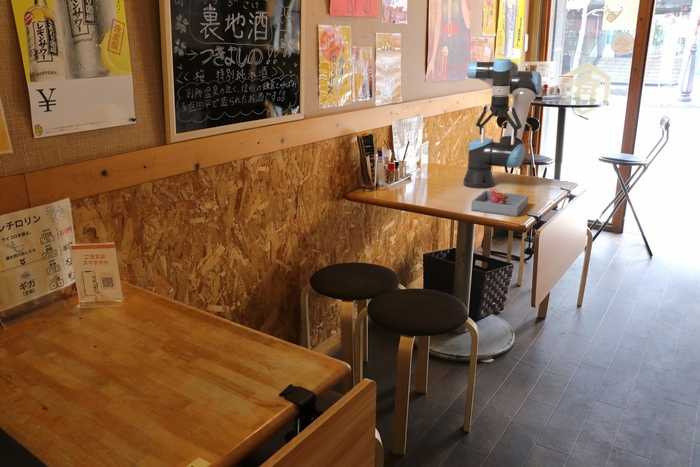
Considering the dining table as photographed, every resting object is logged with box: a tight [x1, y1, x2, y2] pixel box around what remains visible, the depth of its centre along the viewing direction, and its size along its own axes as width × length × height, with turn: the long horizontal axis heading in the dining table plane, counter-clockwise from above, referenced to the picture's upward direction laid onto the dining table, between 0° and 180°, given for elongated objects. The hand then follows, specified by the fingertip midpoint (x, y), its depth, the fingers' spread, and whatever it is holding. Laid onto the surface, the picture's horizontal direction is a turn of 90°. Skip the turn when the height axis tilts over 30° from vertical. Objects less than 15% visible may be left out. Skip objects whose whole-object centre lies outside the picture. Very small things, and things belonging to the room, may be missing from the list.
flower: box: [489, 187, 509, 204], centre depth 251 cm, size 10×9×8 cm
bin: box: [470, 190, 529, 218], centre depth 251 cm, size 20×20×4 cm
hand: (497, 143), depth 262 cm, fingers open, 13 cm apart
